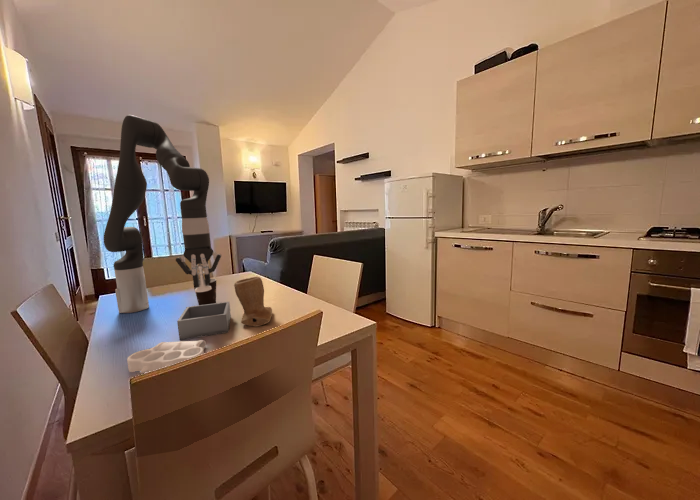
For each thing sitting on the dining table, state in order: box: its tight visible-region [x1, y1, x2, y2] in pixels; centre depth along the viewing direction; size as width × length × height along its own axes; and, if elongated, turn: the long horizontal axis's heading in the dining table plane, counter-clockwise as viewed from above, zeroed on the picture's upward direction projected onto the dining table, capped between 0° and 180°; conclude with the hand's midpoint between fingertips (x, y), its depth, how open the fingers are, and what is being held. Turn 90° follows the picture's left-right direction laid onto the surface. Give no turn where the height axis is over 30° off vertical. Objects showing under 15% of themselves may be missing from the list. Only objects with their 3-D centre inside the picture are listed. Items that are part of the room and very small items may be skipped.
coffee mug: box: [192, 278, 217, 305], centre depth 121 cm, size 12×9×10 cm
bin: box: [176, 301, 232, 341], centre depth 96 cm, size 14×14×6 cm
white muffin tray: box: [126, 339, 207, 374], centre depth 76 cm, size 3×18×15 cm
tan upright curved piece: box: [233, 276, 273, 327], centre depth 101 cm, size 15×12×15 cm
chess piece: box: [194, 264, 212, 292], centre depth 94 cm, size 5×5×10 cm
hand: (202, 285), depth 95 cm, fingers closed on chess piece
